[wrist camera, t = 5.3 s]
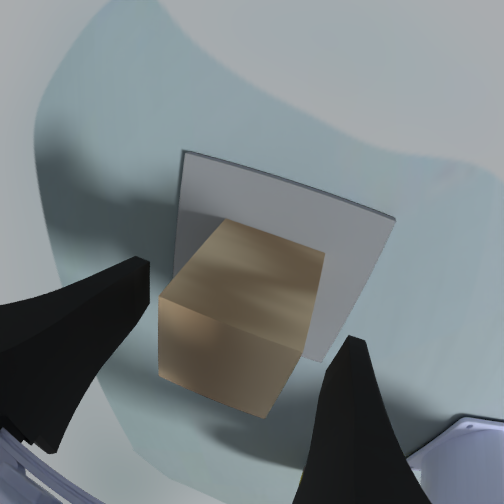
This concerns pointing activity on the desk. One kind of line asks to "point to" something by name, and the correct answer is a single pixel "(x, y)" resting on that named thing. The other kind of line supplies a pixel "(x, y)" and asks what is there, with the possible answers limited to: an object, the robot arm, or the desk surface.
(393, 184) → the desk surface
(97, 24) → the desk surface
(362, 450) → the robot arm
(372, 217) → the pad
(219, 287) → the oak block
